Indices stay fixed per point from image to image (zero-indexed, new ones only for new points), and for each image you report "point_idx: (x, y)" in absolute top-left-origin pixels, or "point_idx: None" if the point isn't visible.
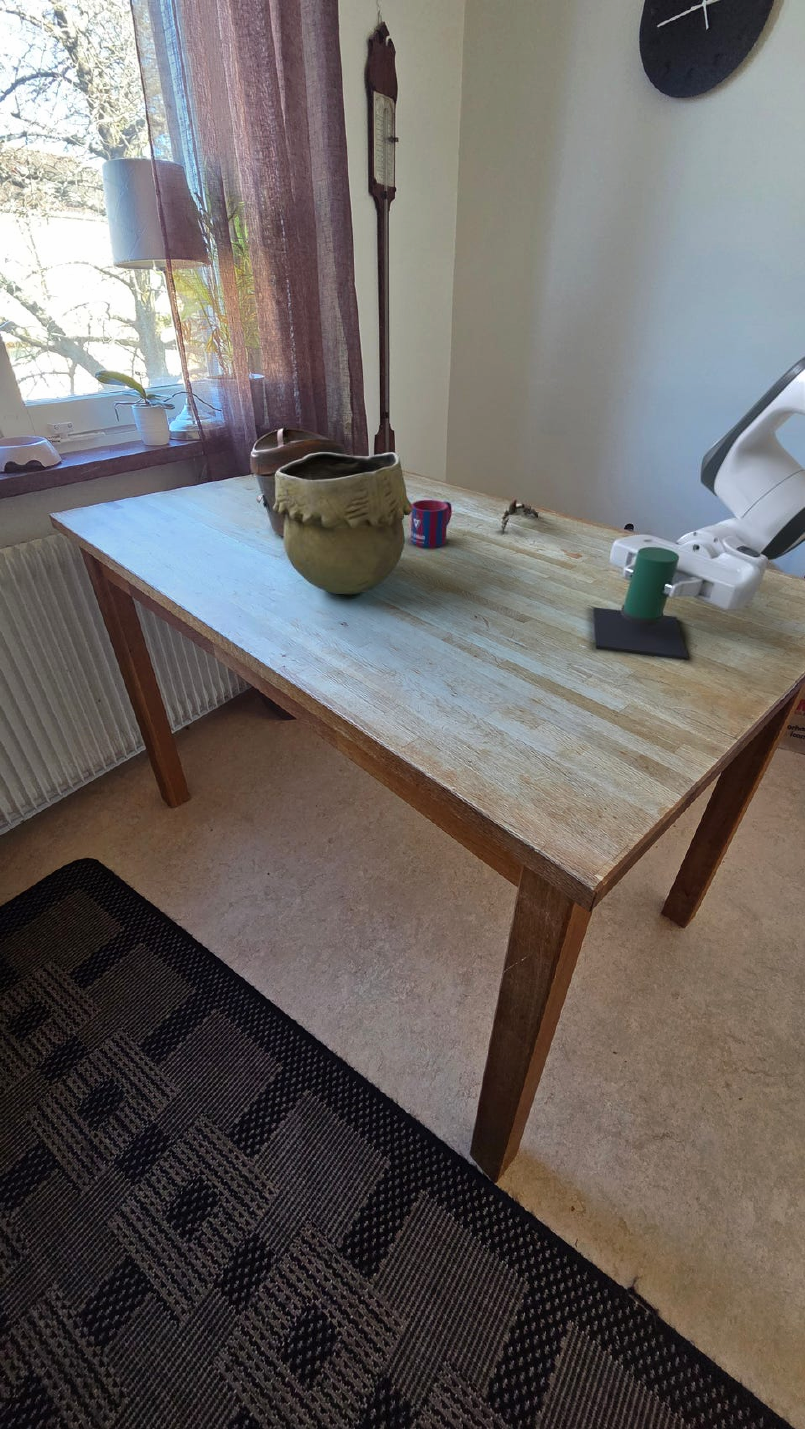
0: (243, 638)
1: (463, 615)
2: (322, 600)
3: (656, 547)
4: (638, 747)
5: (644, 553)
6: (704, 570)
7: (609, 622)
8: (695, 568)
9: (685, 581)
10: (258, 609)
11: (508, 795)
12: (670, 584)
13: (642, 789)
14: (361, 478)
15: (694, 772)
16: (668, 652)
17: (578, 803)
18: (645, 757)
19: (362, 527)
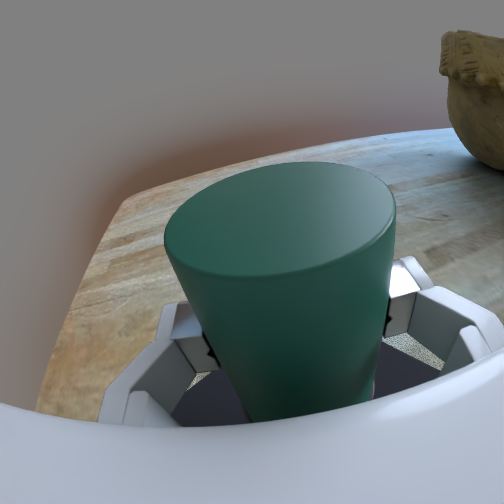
0: (410, 133)
1: (449, 208)
2: (471, 155)
3: (375, 227)
4: (137, 244)
5: (315, 170)
6: (89, 463)
7: (375, 374)
8: (137, 454)
9: (150, 357)
10: (452, 138)
11: (184, 184)
12: (188, 301)
13: (121, 229)
14: (446, 34)
15: (94, 259)
16: (190, 395)
17: (150, 203)
18: (128, 242)
19: (453, 79)
